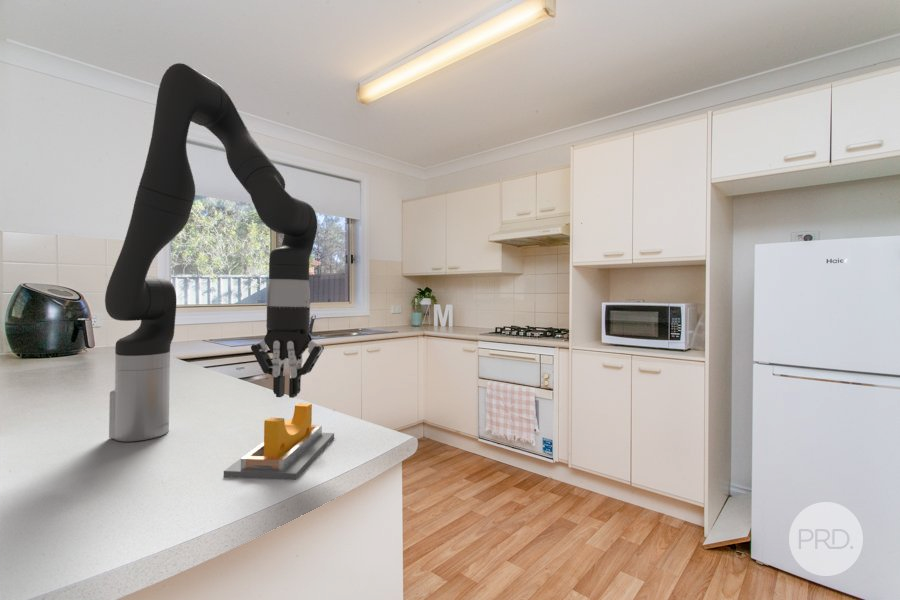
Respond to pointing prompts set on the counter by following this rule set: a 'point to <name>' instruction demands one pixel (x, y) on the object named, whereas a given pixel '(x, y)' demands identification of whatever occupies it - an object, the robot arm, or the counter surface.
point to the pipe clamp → (287, 431)
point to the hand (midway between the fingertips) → (286, 396)
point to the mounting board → (292, 470)
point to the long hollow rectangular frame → (259, 462)
